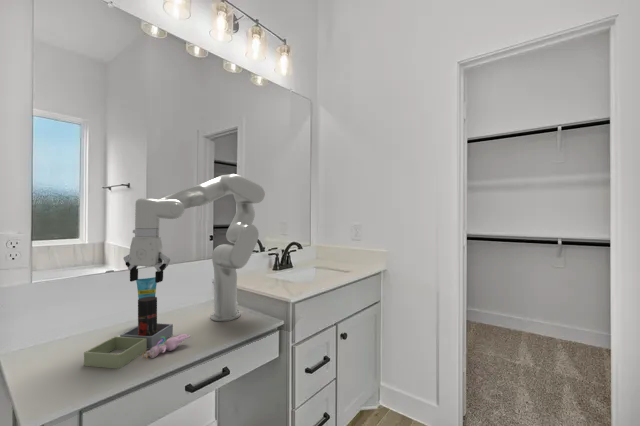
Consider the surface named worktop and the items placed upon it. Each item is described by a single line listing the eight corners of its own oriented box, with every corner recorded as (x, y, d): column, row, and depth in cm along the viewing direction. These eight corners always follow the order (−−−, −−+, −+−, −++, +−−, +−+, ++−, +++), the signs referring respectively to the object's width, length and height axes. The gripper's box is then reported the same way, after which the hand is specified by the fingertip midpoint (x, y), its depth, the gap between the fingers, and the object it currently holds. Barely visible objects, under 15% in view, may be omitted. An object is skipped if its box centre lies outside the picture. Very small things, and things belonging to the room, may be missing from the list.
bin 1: (114, 348, 103) (114, 336, 103) (146, 350, 102) (146, 338, 102) (83, 365, 91) (83, 352, 91) (119, 368, 90) (119, 355, 90)
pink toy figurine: (149, 366, 94) (195, 342, 105) (146, 349, 93) (192, 326, 105) (141, 360, 98) (186, 337, 109) (138, 343, 97) (183, 322, 109)
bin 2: (144, 332, 116) (144, 322, 116) (172, 334, 114) (172, 324, 114) (120, 346, 104) (120, 335, 104) (151, 349, 103) (151, 337, 103)
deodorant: (160, 339, 110) (160, 298, 110) (143, 345, 105) (143, 302, 105) (151, 335, 113) (151, 295, 113) (134, 341, 108) (134, 299, 108)
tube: (136, 328, 119) (136, 280, 119) (135, 324, 123) (135, 277, 123) (157, 325, 123) (157, 277, 123) (156, 321, 127) (156, 275, 127)
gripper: (116, 233, 106) (116, 282, 106) (163, 234, 104) (162, 285, 104) (132, 232, 113) (132, 278, 113) (176, 233, 111) (175, 280, 111)
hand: (146, 281), depth 108 cm, fingers open, 9 cm apart
